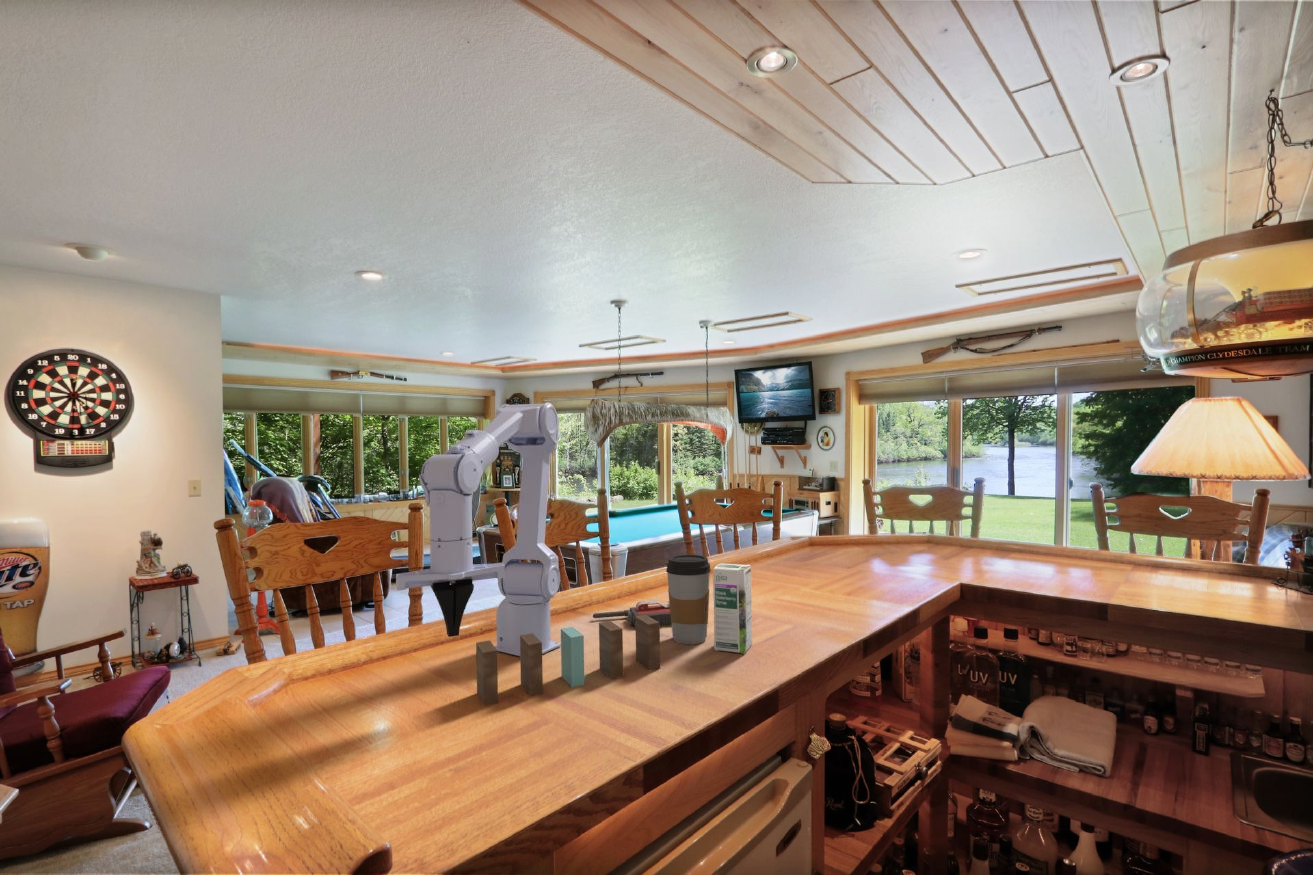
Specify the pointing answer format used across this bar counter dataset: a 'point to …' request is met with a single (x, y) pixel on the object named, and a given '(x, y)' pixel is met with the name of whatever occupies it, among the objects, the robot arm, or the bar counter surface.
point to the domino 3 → (572, 656)
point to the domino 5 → (647, 642)
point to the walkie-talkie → (643, 612)
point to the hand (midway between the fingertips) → (452, 634)
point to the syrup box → (732, 608)
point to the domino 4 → (611, 649)
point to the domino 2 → (531, 664)
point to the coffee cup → (688, 597)
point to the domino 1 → (487, 672)
